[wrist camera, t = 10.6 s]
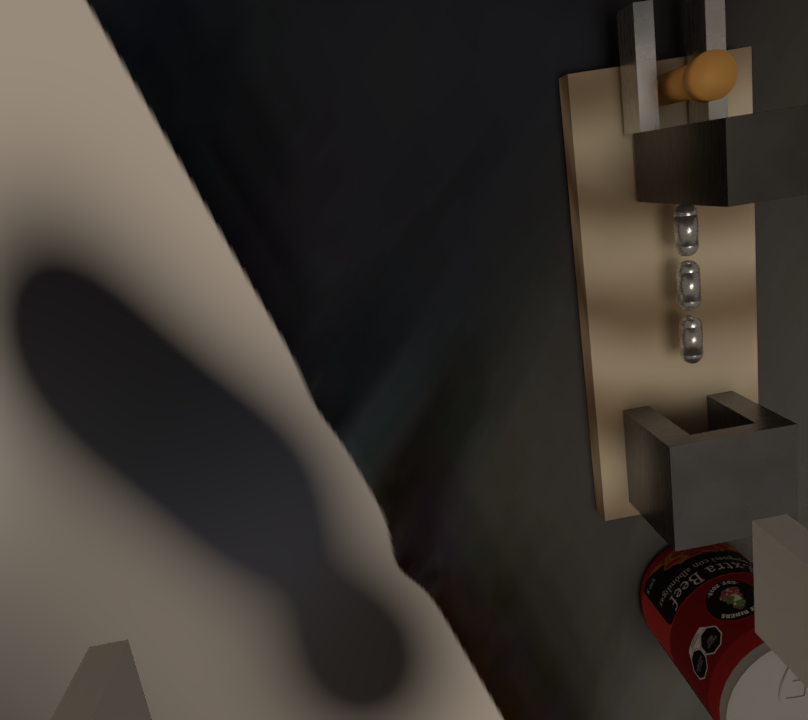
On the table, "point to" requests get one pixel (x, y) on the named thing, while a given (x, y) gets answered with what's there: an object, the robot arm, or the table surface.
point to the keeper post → (699, 79)
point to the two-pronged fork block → (702, 146)
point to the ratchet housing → (711, 471)
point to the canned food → (718, 634)
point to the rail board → (650, 279)
